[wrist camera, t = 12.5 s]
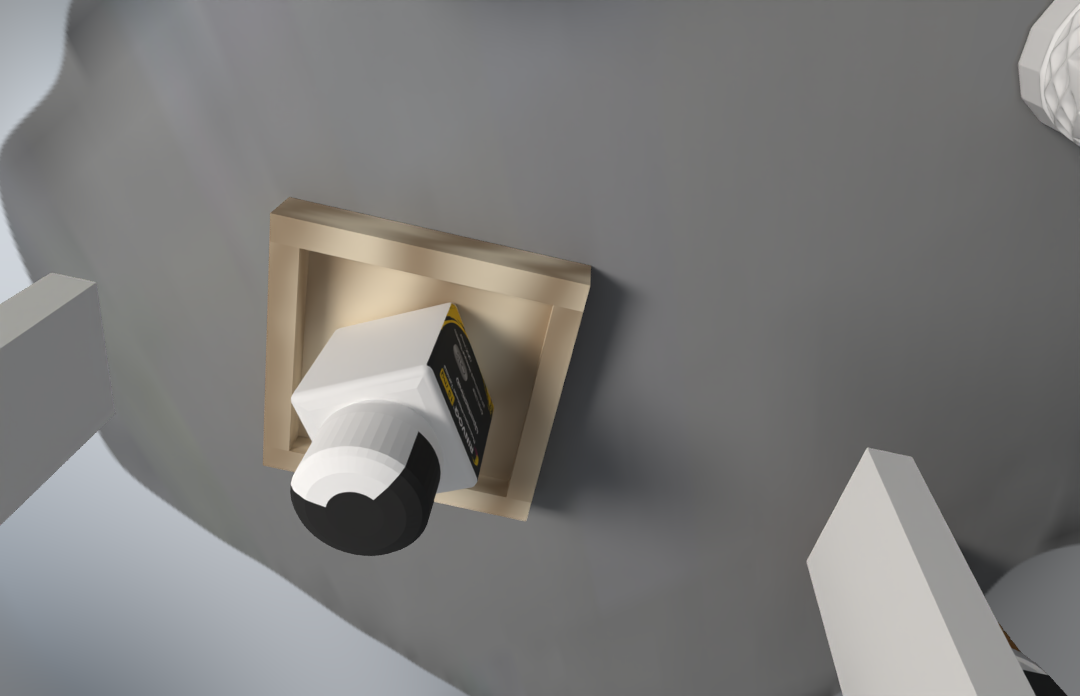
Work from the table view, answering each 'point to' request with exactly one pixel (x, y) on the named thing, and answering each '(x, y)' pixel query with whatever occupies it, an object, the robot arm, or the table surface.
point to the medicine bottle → (389, 428)
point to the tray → (411, 284)
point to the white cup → (1054, 68)
